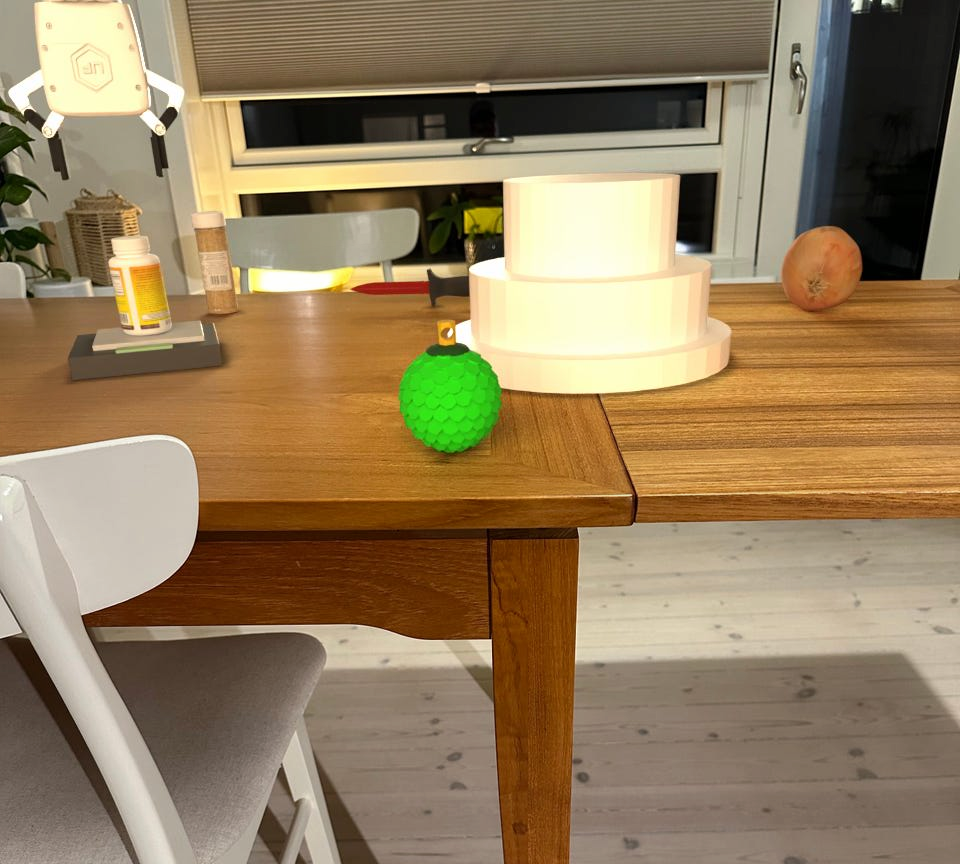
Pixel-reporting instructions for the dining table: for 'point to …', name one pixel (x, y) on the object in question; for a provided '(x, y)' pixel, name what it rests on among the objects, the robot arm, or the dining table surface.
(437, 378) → the ornament
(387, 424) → the dining table surface
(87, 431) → the dining table surface
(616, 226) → the cake
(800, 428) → the dining table surface
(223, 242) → the sprinkles bottle
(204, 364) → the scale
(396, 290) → the knife
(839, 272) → the onion
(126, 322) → the supplement bottle
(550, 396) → the dining table surface
